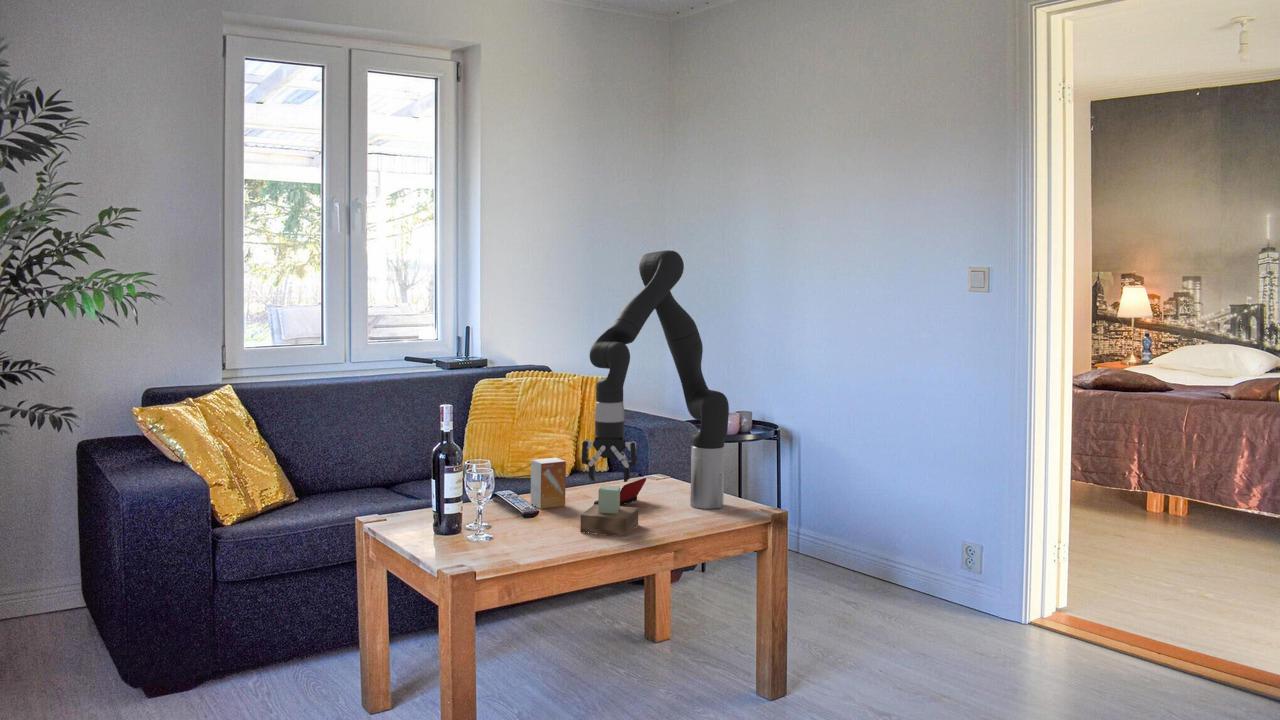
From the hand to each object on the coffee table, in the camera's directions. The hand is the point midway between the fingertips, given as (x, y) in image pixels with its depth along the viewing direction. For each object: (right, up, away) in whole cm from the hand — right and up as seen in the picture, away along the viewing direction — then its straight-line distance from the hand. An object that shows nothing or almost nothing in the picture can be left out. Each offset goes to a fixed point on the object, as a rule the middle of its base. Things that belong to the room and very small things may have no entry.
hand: (609, 480), depth 258 cm
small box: (-18, -10, +24) cm, 32 cm away
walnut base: (0, -13, 0) cm, 13 cm away
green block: (0, -8, +1) cm, 8 cm away
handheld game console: (+2, -10, +28) cm, 30 cm away
